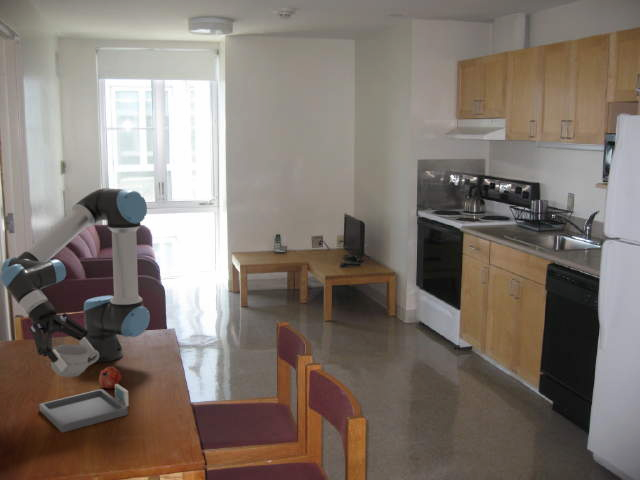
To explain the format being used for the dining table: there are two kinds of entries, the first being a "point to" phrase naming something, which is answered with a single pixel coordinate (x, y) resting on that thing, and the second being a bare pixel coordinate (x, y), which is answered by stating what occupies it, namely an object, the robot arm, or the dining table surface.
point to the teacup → (73, 359)
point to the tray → (82, 410)
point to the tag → (121, 395)
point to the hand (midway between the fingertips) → (79, 362)
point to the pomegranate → (109, 377)
